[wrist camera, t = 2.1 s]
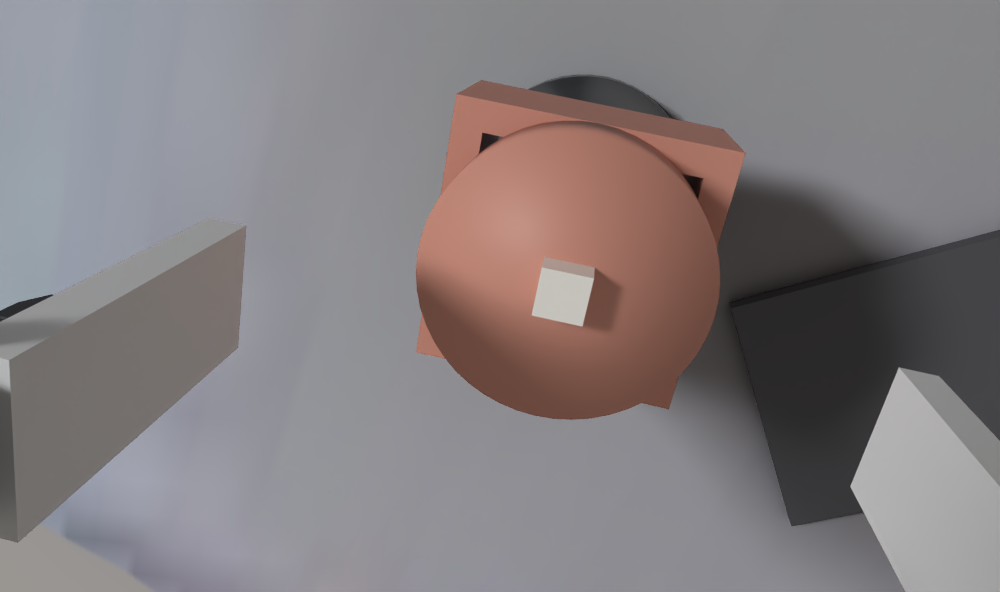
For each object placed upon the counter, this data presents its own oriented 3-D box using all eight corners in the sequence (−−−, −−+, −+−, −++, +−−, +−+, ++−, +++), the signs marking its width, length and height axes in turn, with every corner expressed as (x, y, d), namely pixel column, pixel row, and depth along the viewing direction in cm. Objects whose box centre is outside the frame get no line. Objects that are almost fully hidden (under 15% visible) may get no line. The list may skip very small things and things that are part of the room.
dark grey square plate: (729, 302, 29) (731, 308, 29) (1015, 225, 27) (1024, 230, 26) (788, 517, 32) (791, 526, 32) (1052, 464, 30) (1060, 473, 29)
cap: (444, 302, 25) (389, 398, 19) (481, 80, 23) (432, 107, 16) (660, 349, 25) (677, 464, 19) (723, 129, 22) (767, 176, 16)
